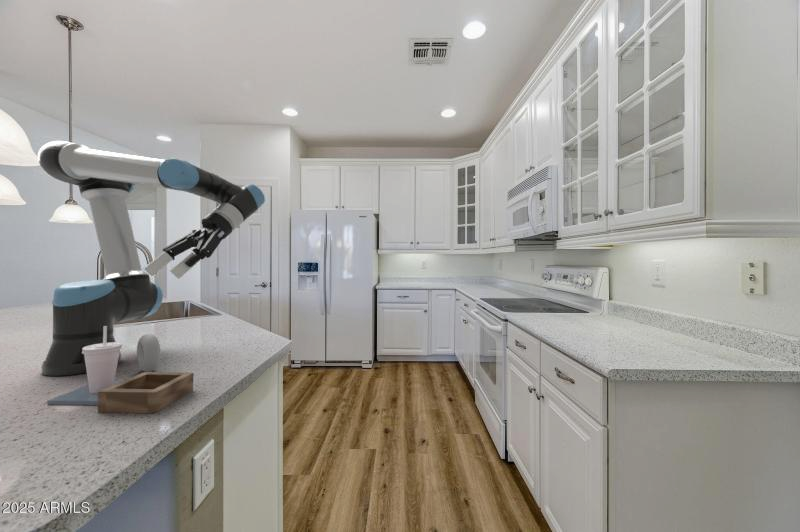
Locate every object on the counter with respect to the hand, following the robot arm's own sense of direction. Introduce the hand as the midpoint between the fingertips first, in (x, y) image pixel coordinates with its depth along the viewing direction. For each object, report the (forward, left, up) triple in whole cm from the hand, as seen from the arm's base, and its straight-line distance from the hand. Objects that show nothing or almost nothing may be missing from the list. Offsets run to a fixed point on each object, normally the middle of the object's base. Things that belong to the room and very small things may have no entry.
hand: (160, 273), depth 77 cm
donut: (-5, -6, -26) cm, 28 cm away
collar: (+12, +8, -26) cm, 30 cm away
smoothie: (+9, -5, -26) cm, 28 cm away
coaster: (+9, -5, -26) cm, 28 cm away
